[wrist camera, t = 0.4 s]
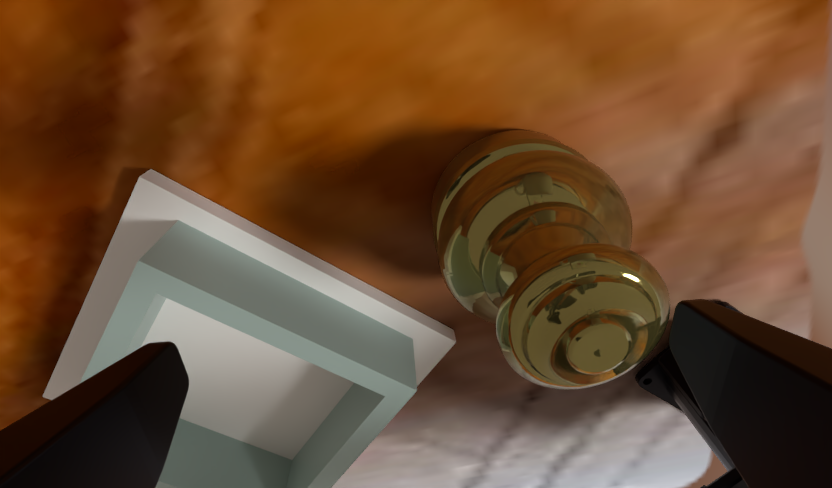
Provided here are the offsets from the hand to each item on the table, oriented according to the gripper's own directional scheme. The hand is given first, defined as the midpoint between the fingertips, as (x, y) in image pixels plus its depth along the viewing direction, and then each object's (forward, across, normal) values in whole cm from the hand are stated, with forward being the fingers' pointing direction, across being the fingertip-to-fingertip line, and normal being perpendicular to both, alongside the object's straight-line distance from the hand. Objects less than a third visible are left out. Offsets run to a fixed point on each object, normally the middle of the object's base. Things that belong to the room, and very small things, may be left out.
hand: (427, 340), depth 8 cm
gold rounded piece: (+13, -4, +3) cm, 14 cm away
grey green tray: (+13, +9, +10) cm, 18 cm away
